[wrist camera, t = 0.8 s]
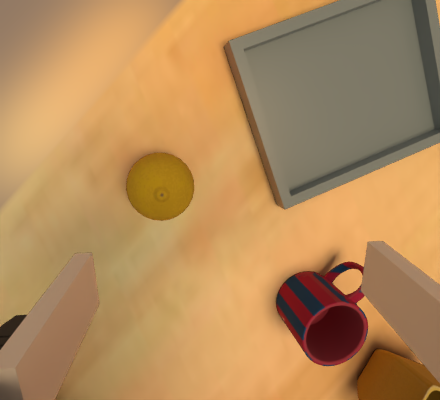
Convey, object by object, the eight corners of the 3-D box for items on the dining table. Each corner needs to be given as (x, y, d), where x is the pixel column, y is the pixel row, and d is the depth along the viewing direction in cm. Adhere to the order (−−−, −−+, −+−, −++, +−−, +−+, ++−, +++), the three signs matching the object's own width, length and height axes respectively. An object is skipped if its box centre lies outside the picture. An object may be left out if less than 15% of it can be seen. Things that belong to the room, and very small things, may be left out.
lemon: (192, 203, 32) (204, 225, 24) (135, 211, 31) (128, 237, 23) (185, 146, 30) (195, 152, 23) (125, 153, 30) (115, 161, 22)
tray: (276, 204, 34) (284, 209, 31) (223, 47, 29) (228, 40, 27) (439, 134, 36) (457, 134, 33) (411, -22, 31) (430, -33, 29)
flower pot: (422, 350, 42) (492, 407, 33) (388, 406, 43) (448, 475, 34) (371, 329, 39) (432, 385, 31) (337, 388, 40) (386, 459, 32)
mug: (264, 303, 36) (288, 342, 29) (325, 237, 35) (363, 261, 29) (302, 335, 38) (333, 378, 31) (361, 272, 37) (404, 302, 31)
